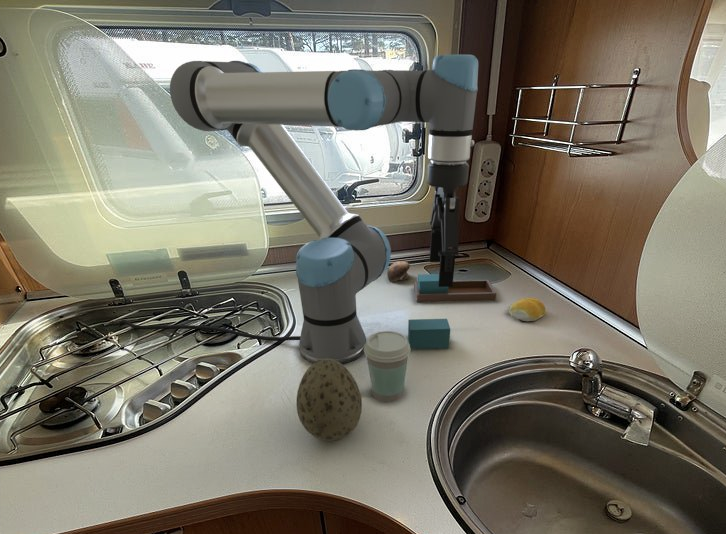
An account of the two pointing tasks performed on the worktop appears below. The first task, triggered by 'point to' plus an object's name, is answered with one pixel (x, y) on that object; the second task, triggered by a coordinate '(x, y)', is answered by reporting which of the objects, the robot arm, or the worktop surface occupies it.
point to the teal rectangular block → (428, 333)
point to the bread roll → (527, 309)
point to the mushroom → (398, 271)
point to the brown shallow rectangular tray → (460, 292)
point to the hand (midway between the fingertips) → (440, 273)
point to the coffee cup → (387, 364)
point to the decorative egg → (328, 400)
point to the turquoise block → (430, 284)
